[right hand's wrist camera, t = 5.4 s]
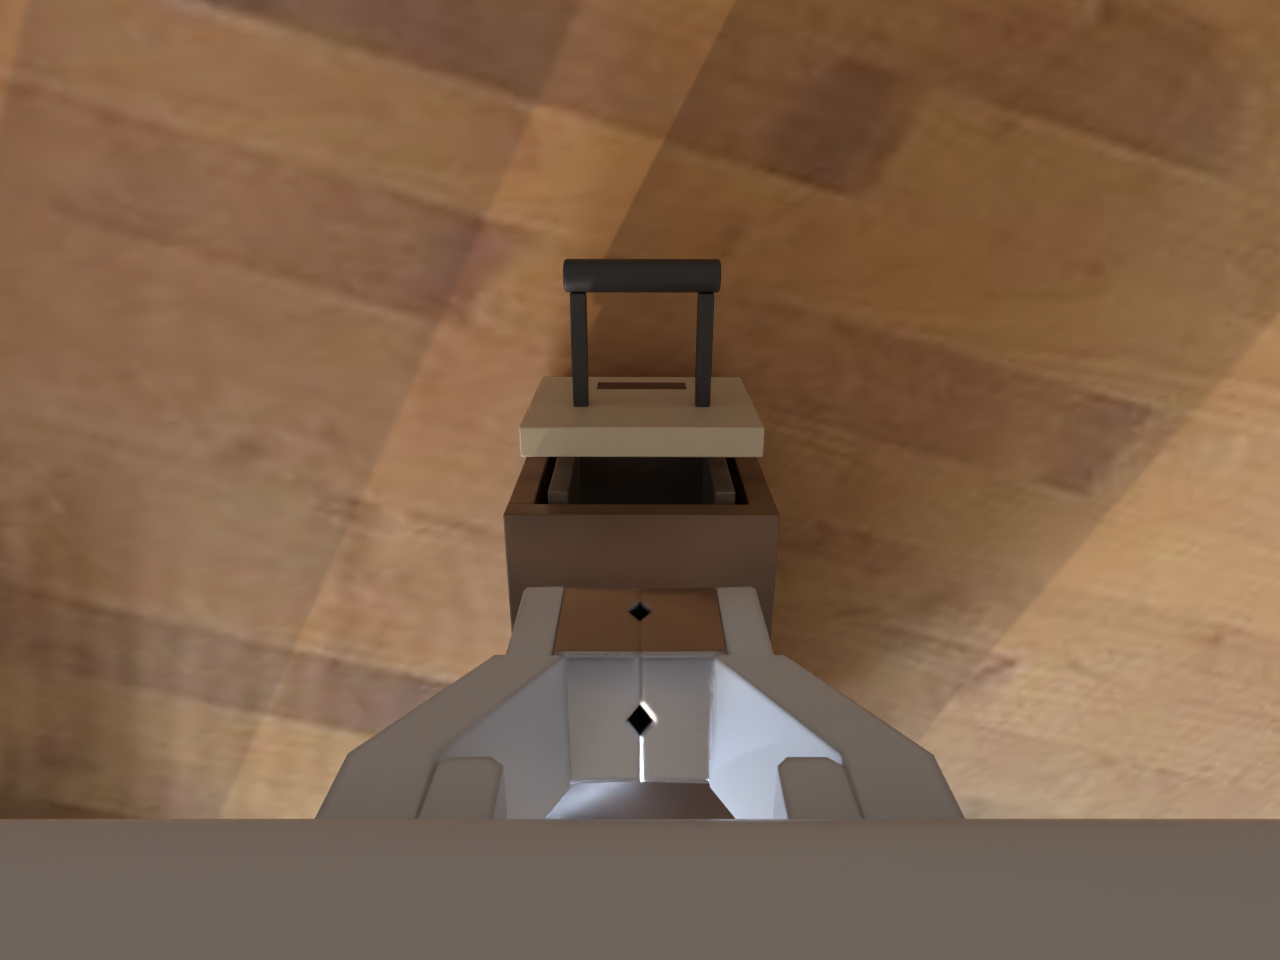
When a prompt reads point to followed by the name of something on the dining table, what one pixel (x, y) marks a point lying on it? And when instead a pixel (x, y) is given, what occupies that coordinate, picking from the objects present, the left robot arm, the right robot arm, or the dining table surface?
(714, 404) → the drawer
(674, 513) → the brown storage bin
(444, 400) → the dining table surface
